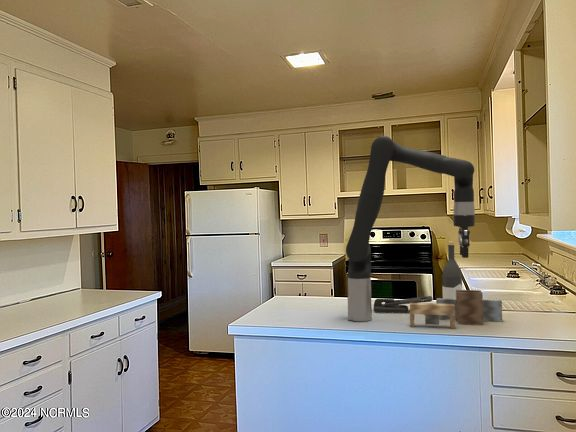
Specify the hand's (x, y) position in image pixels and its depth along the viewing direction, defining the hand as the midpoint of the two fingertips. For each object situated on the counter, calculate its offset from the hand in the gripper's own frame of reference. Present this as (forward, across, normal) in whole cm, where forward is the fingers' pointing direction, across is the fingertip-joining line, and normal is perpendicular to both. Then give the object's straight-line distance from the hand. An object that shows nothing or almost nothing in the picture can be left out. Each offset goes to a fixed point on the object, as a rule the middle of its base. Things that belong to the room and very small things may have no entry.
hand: (464, 256), depth 170 cm
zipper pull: (+27, -18, -23) cm, 40 cm away
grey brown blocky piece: (+26, -3, +2) cm, 26 cm away
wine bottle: (+26, -22, -2) cm, 35 cm away
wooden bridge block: (+26, +6, -12) cm, 29 cm away
